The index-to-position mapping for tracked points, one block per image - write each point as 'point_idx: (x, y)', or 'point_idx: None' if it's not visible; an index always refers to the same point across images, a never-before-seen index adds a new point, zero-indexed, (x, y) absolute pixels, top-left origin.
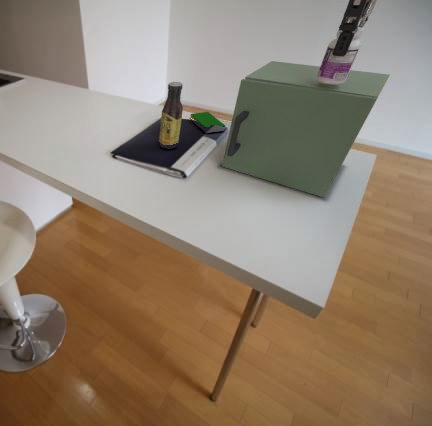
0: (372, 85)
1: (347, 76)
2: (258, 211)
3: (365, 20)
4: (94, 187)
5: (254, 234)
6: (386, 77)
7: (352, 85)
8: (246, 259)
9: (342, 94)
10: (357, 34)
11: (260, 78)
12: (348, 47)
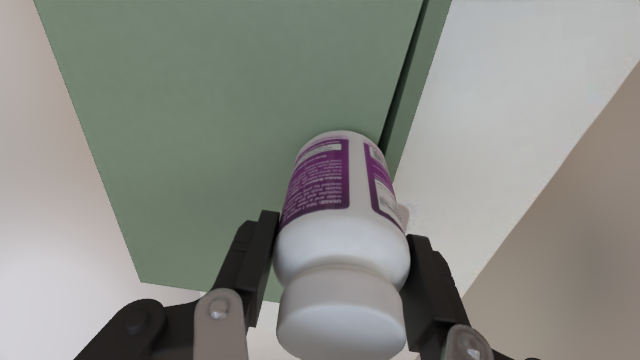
0: (260, 10)
1: (343, 137)
2: (465, 99)
3: (197, 332)
4: (460, 279)
5: (532, 94)
6: None
7: (296, 87)
8: (595, 93)
9: (413, 116)
10: (393, 297)
11: None
12: (434, 263)
